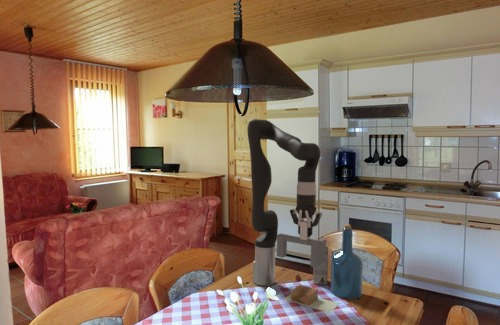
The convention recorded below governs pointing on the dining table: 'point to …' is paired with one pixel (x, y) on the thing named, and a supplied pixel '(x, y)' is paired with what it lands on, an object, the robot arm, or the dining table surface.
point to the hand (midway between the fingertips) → (305, 235)
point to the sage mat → (319, 304)
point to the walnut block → (304, 294)
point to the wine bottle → (346, 269)
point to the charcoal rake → (316, 245)
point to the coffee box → (321, 272)
